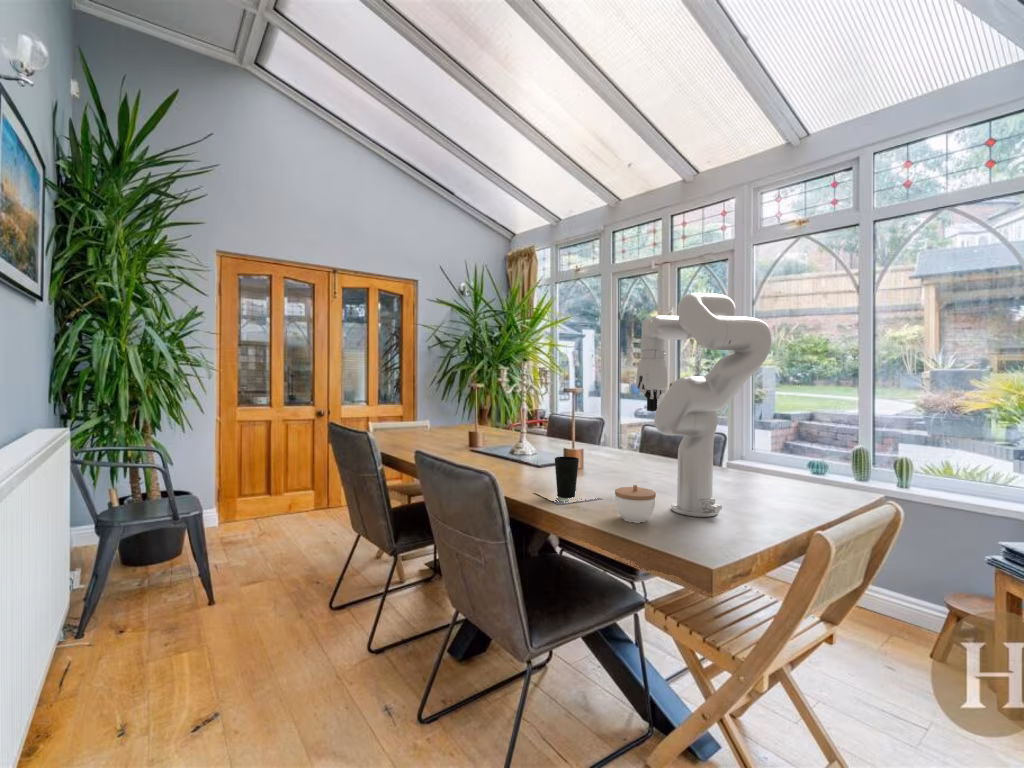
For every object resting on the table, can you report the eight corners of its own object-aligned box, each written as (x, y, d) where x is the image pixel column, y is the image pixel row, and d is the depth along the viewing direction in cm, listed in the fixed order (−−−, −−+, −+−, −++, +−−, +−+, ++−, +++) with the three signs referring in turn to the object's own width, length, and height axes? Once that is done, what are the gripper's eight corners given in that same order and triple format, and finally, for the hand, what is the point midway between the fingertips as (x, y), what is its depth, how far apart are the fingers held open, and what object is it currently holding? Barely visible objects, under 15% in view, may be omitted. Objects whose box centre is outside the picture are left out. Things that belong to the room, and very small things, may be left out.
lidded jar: (632, 528, 129) (633, 491, 128) (606, 517, 138) (606, 483, 138) (663, 522, 134) (664, 487, 133) (636, 512, 143) (637, 479, 143)
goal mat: (602, 499, 157) (602, 498, 157) (558, 505, 150) (558, 504, 150) (573, 488, 171) (573, 487, 171) (532, 493, 164) (532, 492, 164)
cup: (576, 499, 155) (577, 460, 155) (552, 497, 157) (552, 459, 157) (579, 493, 163) (580, 457, 163) (556, 492, 165) (556, 455, 165)
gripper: (661, 356, 174) (660, 409, 174) (627, 355, 167) (627, 410, 167) (677, 356, 167) (676, 411, 168) (643, 355, 160) (642, 412, 161)
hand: (652, 410), depth 168 cm, fingers closed
